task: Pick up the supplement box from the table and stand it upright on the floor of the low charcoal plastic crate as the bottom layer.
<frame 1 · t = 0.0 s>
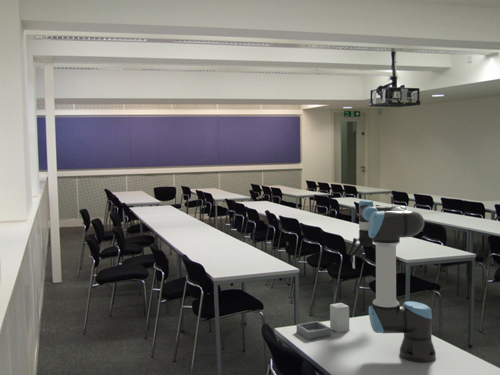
hand: (366, 268, 266), 28 cm above the table, tool pointing down, fingers open, 13 cm apart
supplement box: (339, 329, 253), on the table
crate: (313, 334, 247), on the table
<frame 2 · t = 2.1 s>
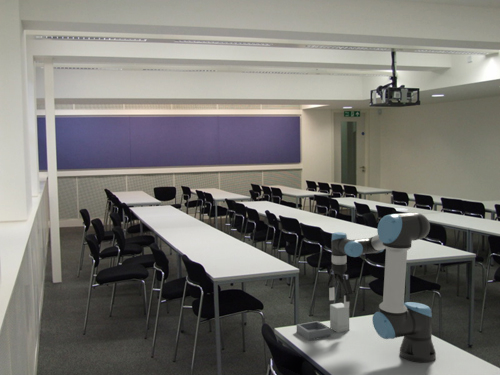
hand: (339, 303, 252), 13 cm above the table, tool pointing down, fingers open, 13 cm apart
nothing on the table moved.
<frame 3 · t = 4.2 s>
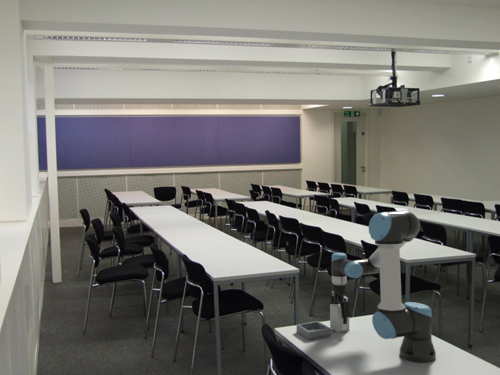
hand: (339, 327, 253), 1 cm above the table, tool pointing down, fingers closed on supplement box, 7 cm apart
supplement box: (339, 329, 253), on the table, touching gripper
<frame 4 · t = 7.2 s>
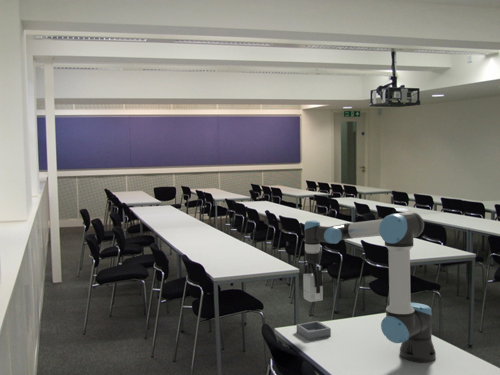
hand: (313, 297, 245), 19 cm above the table, tool pointing down, fingers closed on supplement box, 7 cm apart
supplement box: (313, 299, 246), point 18 cm above the table, touching gripper
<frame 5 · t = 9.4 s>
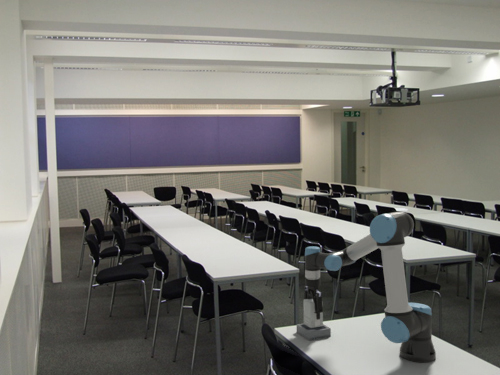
hand: (313, 322, 246), 6 cm above the table, tool pointing down, fingers closed on supplement box, 7 cm apart
supplement box: (313, 325, 246), point 5 cm above the table, touching gripper
when the fingers open (4 cm above the table, at t = 10.7 s): supplement box drops 2 cm, resting on crate.
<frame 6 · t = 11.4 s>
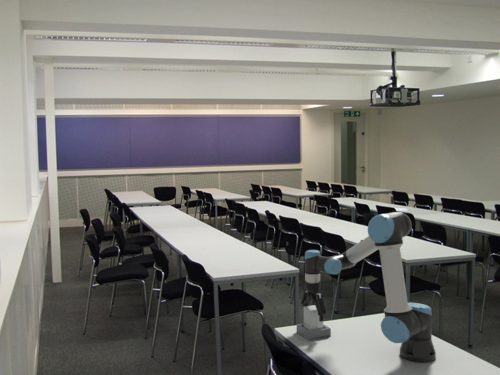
hand: (313, 323, 246), 6 cm above the table, tool pointing down, fingers open, 13 cm apart
supplement box: (313, 332, 247), point 1 cm above the table, touching crate
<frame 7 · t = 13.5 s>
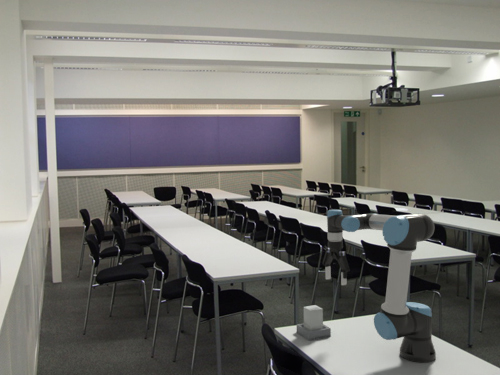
hand: (335, 281, 249), 25 cm above the table, tool pointing down, fingers open, 13 cm apart
nothing on the table moved.
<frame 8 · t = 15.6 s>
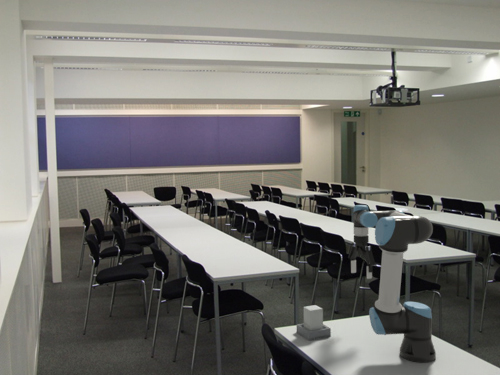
hand: (361, 275, 255), 27 cm above the table, tool pointing down, fingers open, 13 cm apart
nothing on the table moved.
at the end: supplement box inside the target area on the crate (0.0 cm from its centre), point 0.8 cm above the crate's base; supplement box tilted 0°; the gripper is holding nothing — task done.
